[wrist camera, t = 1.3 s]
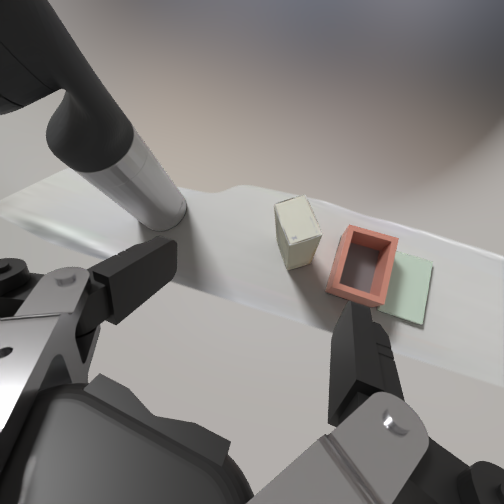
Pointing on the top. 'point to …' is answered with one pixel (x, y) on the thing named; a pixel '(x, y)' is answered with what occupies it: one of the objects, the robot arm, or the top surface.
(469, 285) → the top surface
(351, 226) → the bin
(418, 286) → the pad
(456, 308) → the top surface
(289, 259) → the skincare box
